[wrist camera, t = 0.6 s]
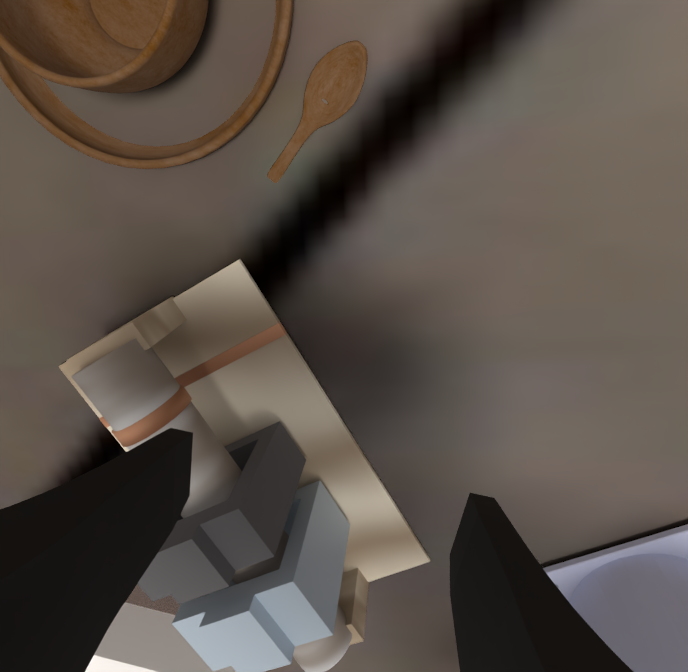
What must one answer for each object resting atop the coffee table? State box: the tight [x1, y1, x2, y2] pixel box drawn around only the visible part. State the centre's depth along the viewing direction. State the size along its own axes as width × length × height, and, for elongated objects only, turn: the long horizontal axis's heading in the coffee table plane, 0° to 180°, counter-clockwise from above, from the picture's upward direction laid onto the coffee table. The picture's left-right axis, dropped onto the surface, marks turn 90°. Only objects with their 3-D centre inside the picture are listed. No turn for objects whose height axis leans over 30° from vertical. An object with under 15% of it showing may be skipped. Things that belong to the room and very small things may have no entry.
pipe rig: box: [58, 259, 430, 672], centre depth 22 cm, size 18×11×5 cm, turn 30°
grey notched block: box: [137, 421, 306, 604], centre depth 21 cm, size 2×6×7 cm, turn 120°
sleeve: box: [172, 480, 350, 672], centre depth 22 cm, size 3×6×7 cm, turn 120°
